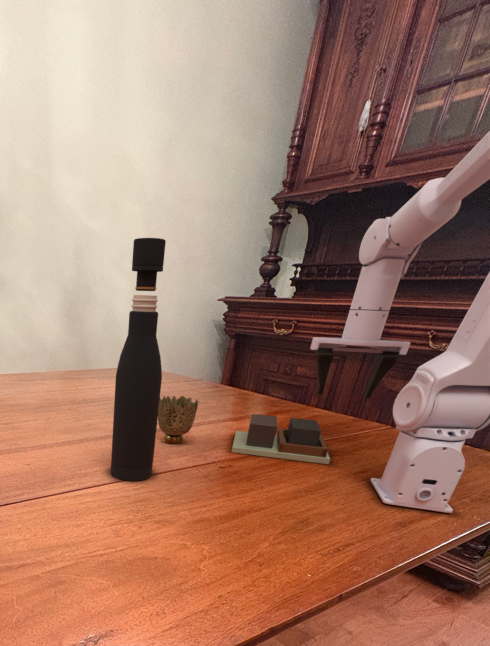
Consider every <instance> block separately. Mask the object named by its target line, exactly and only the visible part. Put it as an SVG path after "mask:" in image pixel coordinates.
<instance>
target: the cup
mask: <svg viewBox="0 0 490 646" xmlns="http://www.w3.org/2000/svg"><path fill="white" fill-rule="evenodd" d="M192 400H193V399H192V397H190V396H189V397H186V396H184V395H181V396H179V397H176V396H175V395H173V396H172V398H171V397H170V395H167V396H165V395H163V397H162V399H161V398H160V400H159V410H158V419H157V425H158V427H159V429H160V431H161V432H162V433H163V434H164V435H163V439H164V442H166V443H168V444H171V445H175V444H176V445H177V444H180V443H182V442H183V440H184V435H186V434H188V433H189V432H190V430H191V429H192V427H193V425H194V422H195V418H196V414H197V410H198V407H199V403H200V400H199V399H198V398H197V399H195V401H192Z"/></svg>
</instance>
